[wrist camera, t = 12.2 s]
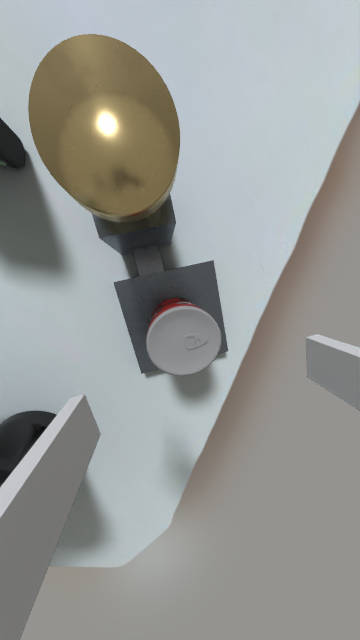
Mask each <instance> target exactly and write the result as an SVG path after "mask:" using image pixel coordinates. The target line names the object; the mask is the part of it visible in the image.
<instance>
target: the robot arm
mask: <svg viewBox="0 0 360 640" xmlns="http://www.w3.org/2000/svg"><path fill="white" fill-rule="evenodd" d="M306 360H307V377H308V378H309V379H311V380H312V381H314V382H315V383H317V384H319V385H320V386H322V387H323V388H325V389H326V390H328V391H329V392H331V393H333V394H334V395H336V396H337V397H339V398H340V399H343V400H344V401H345V402H347V403H348V404H350V405H351V406H353V407H355V408H356V409H358V410H359V411H360V348H359V347H355V346H352V345H349V344H346V343H343V342H339V341H336V340H334V339H330V338H327V337H324V336H321V335H318V334H316V335H313V336H309V337H306ZM100 435H101V433H100V431H99V428H98V426H97V424H96V421H95V419H94V416H93V414H92V411H91V409H90V406H89V404H88V401H87V399H86V397H85V394H84V395H80V396H76V397H72V398H70V399H69V400H68V402H67V403H66V404H65V405H64V407H63V408H62V409H61V411H60V412H59V413H58V414H57V415H55V414H52V413H49V412H44V411H27V412H22V413H18V414H15V415H13V416H11V417H9V418H8V419H6V420H5V421H3V422H2V423H1V424H0V640H20V638H21V635H22V633H23V630H24V627H25V625H26V622H27V620H28V617H29V615H30V612H31V610H32V607H33V605H34V602H35V600H36V597H37V594H38V592H39V589H40V587H41V584H42V582H43V579H44V577H45V574H46V572H47V569H48V567H49V564H50V562H51V559H52V557H53V554H54V551H55V549H56V546H57V544H58V541H59V539H60V536H61V534H62V531H63V529H64V526H65V524H66V521H67V518H68V516H69V513H70V511H71V508H72V506H73V503H74V501H75V498H76V496H77V493H78V491H79V488H80V486H81V483H82V480H83V478H84V475H85V473H86V470H87V468H88V465H89V463H90V460H91V458H92V455H93V453H94V450H95V447H96V445H97V442H98V440H99V437H100Z"/></svg>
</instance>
